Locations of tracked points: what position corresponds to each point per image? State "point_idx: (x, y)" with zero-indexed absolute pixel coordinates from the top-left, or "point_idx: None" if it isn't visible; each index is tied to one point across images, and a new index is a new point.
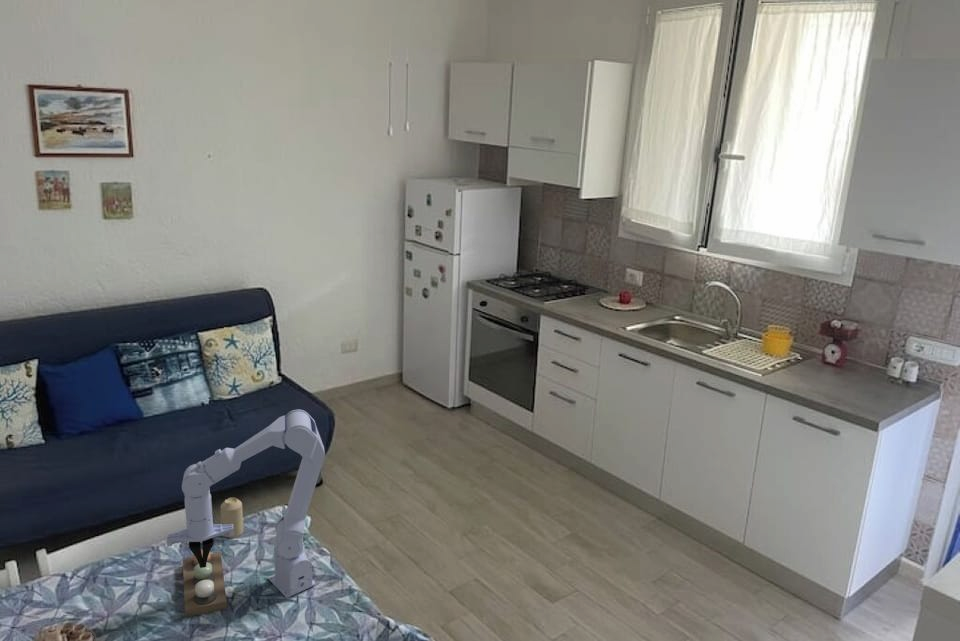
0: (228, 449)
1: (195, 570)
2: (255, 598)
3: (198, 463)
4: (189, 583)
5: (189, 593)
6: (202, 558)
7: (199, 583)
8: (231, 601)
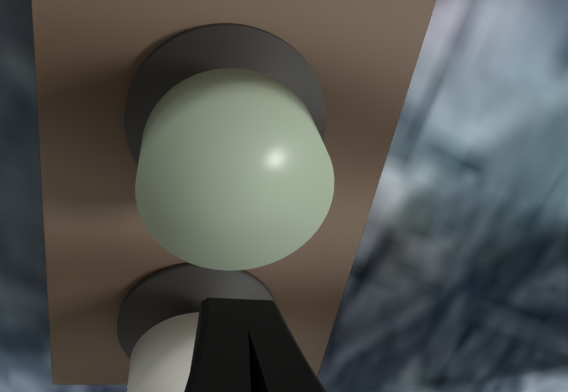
0: None
1: (149, 219)
2: (465, 317)
3: None
4: (93, 128)
5: (88, 251)
6: (246, 336)
7: (165, 388)
8: (345, 299)
